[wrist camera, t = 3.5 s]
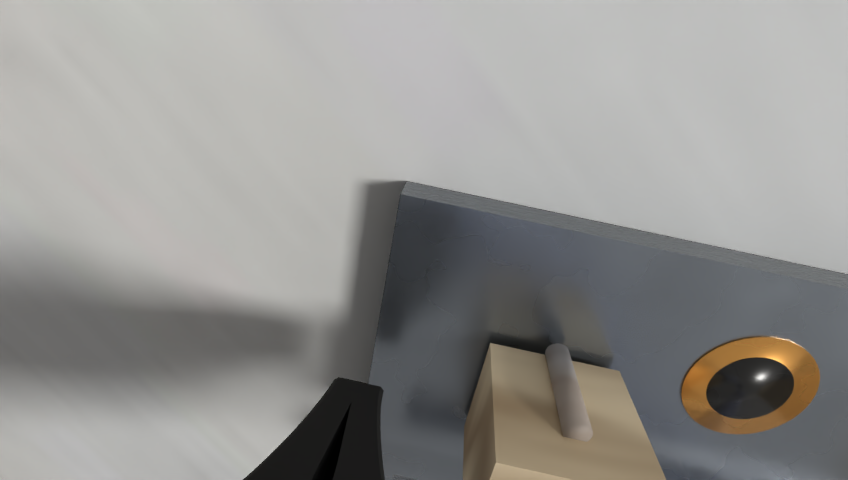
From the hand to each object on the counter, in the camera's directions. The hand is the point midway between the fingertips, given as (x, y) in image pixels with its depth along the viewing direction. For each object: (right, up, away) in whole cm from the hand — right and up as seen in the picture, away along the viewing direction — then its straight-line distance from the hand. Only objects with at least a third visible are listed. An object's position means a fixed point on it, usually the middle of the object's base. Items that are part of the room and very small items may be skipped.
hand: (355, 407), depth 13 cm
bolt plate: (+14, -2, +3) cm, 14 cm away
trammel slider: (+6, 0, +1) cm, 6 cm away
